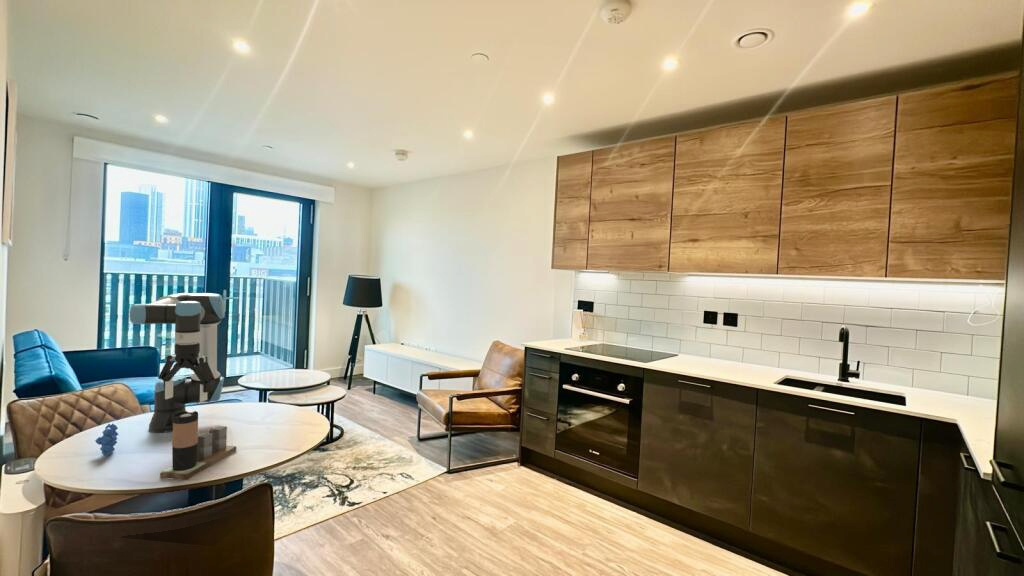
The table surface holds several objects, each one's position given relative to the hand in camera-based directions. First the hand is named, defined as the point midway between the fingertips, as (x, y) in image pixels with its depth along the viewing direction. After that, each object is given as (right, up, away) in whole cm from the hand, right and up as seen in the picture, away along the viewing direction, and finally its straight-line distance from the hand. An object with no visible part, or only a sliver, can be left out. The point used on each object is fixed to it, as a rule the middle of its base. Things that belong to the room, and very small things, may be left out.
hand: (186, 399), depth 162 cm
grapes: (-42, -25, +12) cm, 50 cm away
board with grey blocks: (-1, -27, +9) cm, 29 cm away
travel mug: (-1, -26, +1) cm, 26 cm away
